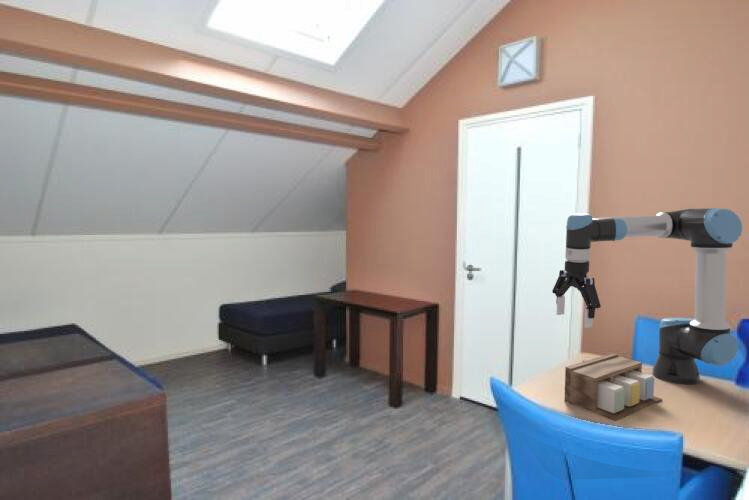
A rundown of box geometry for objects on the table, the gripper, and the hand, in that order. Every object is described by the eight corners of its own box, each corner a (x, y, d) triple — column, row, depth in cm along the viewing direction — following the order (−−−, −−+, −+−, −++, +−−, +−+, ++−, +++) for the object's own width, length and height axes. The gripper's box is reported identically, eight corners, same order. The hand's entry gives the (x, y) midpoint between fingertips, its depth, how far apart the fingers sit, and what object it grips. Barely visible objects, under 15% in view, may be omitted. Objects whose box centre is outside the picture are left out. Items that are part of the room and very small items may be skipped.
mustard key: (639, 403, 148) (640, 381, 148) (631, 407, 146) (632, 384, 145) (616, 396, 155) (617, 374, 154) (608, 399, 152) (609, 377, 152)
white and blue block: (653, 397, 153) (654, 376, 153) (646, 401, 151) (647, 379, 150) (631, 390, 160) (631, 369, 159) (623, 393, 157) (624, 372, 156)
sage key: (624, 410, 144) (625, 387, 143) (615, 414, 141) (616, 390, 140) (601, 402, 150) (602, 379, 149) (592, 405, 147) (593, 382, 147)
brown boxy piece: (661, 400, 153) (663, 366, 152) (615, 420, 138) (616, 383, 138) (611, 384, 168) (612, 353, 167) (564, 401, 153) (565, 367, 152)
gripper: (543, 254, 163) (541, 310, 167) (596, 268, 139) (592, 334, 143) (561, 252, 165) (558, 308, 169) (615, 266, 141) (611, 331, 145)
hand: (573, 320), depth 156 cm, fingers open, 13 cm apart
